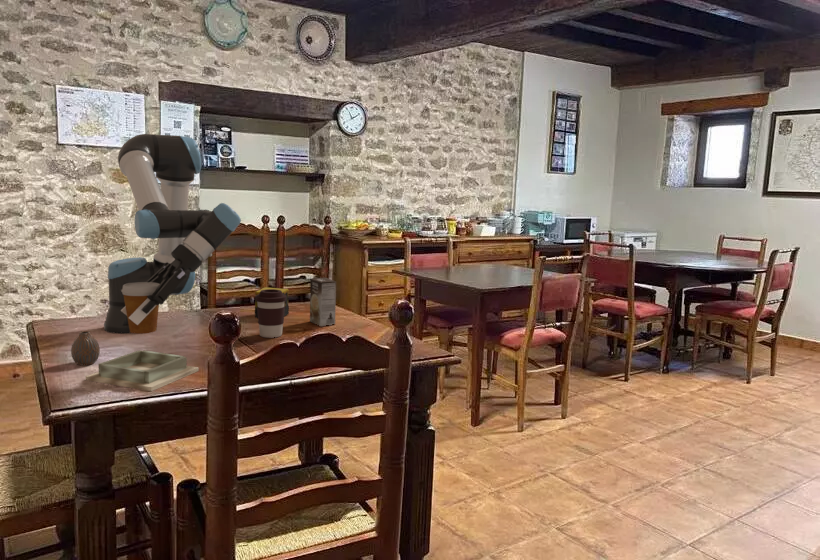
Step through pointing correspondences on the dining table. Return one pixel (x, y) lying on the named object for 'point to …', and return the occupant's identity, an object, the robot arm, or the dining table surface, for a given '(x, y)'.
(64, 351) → the dining table surface
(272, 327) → the coffee cup
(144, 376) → the tray
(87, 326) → the dining table surface
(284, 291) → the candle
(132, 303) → the disposable coffee cup
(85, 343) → the vase
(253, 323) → the dining table surface
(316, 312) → the coffee box
